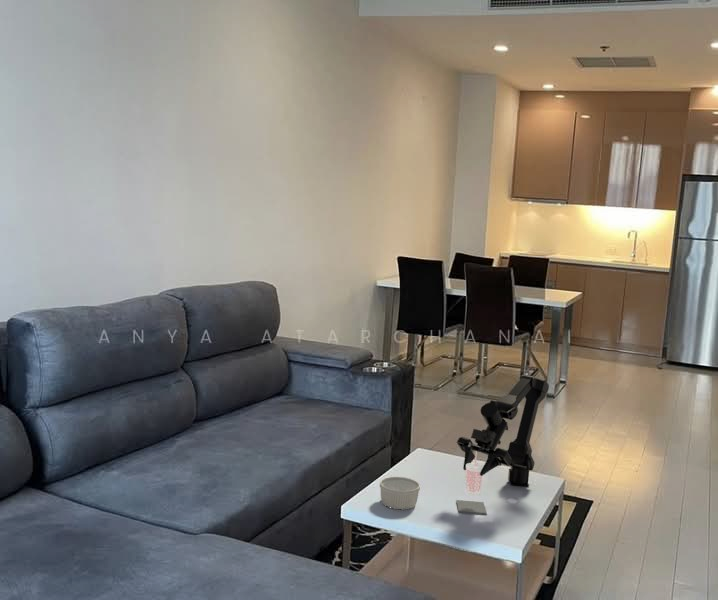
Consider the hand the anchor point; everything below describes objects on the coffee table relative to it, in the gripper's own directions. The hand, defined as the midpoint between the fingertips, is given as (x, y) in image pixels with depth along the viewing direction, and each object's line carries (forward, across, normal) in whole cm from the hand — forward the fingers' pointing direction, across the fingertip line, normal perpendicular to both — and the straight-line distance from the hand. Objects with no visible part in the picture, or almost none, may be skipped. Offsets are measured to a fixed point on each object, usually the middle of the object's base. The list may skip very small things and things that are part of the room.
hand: (472, 472), depth 240 cm
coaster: (+8, 0, +10) cm, 13 cm away
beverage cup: (+4, 0, +6) cm, 7 cm away
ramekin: (+20, -18, -2) cm, 26 cm away
